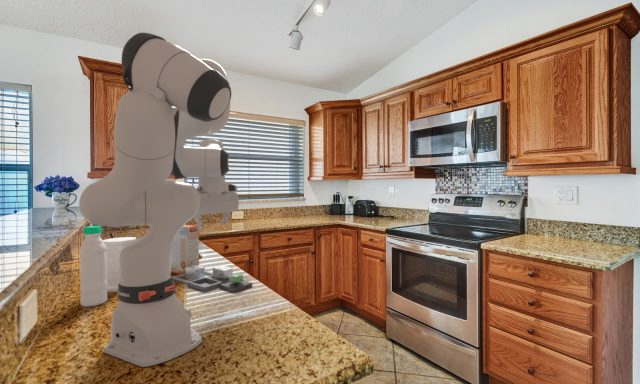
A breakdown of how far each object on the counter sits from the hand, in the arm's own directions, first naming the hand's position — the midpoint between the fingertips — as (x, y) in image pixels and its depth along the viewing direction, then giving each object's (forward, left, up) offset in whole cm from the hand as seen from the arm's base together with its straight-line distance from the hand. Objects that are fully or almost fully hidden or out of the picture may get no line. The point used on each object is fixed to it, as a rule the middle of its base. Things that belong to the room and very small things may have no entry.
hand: (212, 226), depth 109 cm
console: (-4, -6, -24) cm, 25 cm away
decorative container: (+35, +17, -24) cm, 46 cm away
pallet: (+6, -4, -24) cm, 25 cm away
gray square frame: (+19, -4, -24) cm, 31 cm away
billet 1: (+19, -4, -23) cm, 30 cm away
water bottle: (+23, +29, -24) cm, 44 cm away
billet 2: (+6, -8, -22) cm, 25 cm away
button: (-4, -6, -22) cm, 24 cm away
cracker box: (+33, -7, -24) cm, 42 cm away
